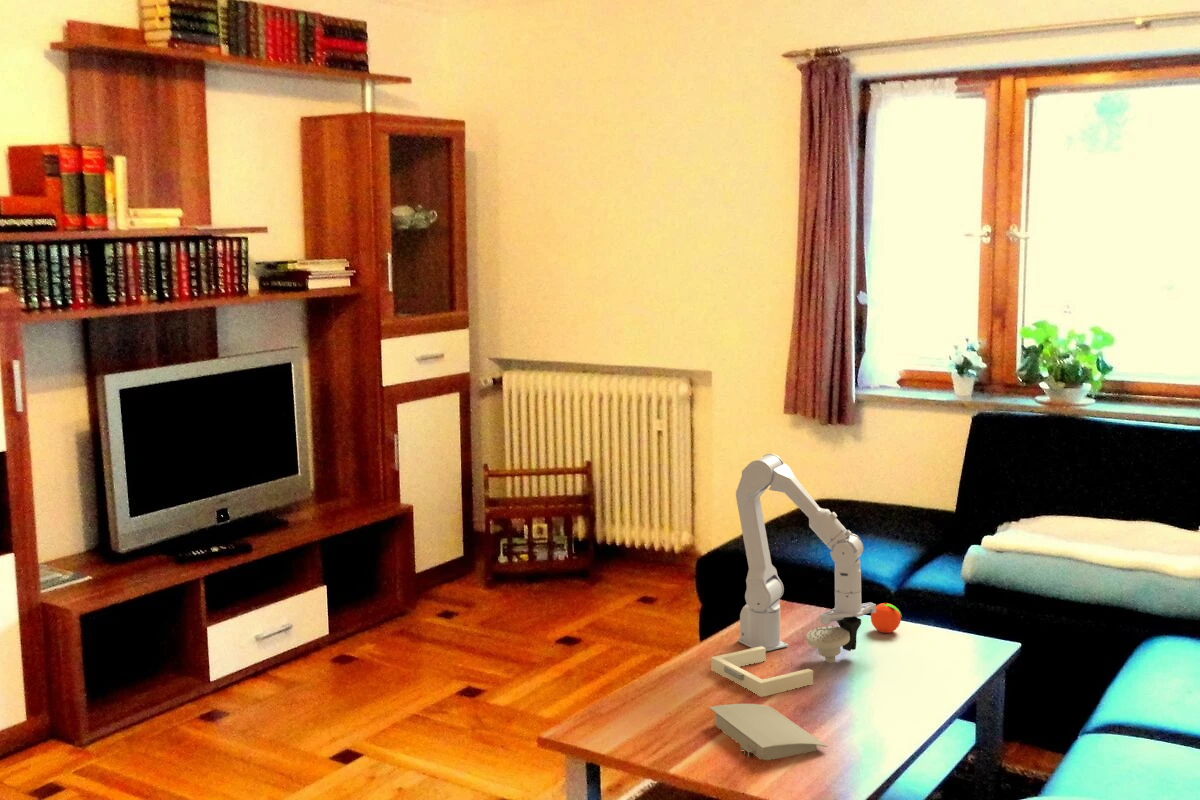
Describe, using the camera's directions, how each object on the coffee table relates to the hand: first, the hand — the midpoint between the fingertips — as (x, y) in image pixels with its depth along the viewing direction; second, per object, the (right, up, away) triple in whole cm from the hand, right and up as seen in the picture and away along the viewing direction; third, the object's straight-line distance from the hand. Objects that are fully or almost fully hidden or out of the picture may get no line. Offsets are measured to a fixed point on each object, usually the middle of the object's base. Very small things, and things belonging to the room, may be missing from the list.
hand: (849, 649), depth 273 cm
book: (-25, -9, -42) cm, 49 cm away
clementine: (+13, 0, +17) cm, 21 cm away
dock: (-21, -4, -11) cm, 24 cm away
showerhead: (-4, -3, -2) cm, 6 cm away
